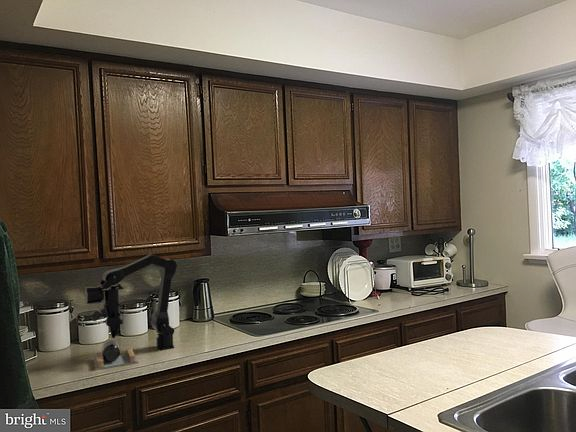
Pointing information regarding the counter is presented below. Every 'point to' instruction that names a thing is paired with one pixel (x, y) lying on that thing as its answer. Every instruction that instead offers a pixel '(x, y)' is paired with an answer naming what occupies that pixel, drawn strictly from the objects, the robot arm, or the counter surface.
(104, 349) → the supplement bottle
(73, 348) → the counter surface
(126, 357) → the rubber mat
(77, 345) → the counter surface
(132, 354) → the cradle rails
